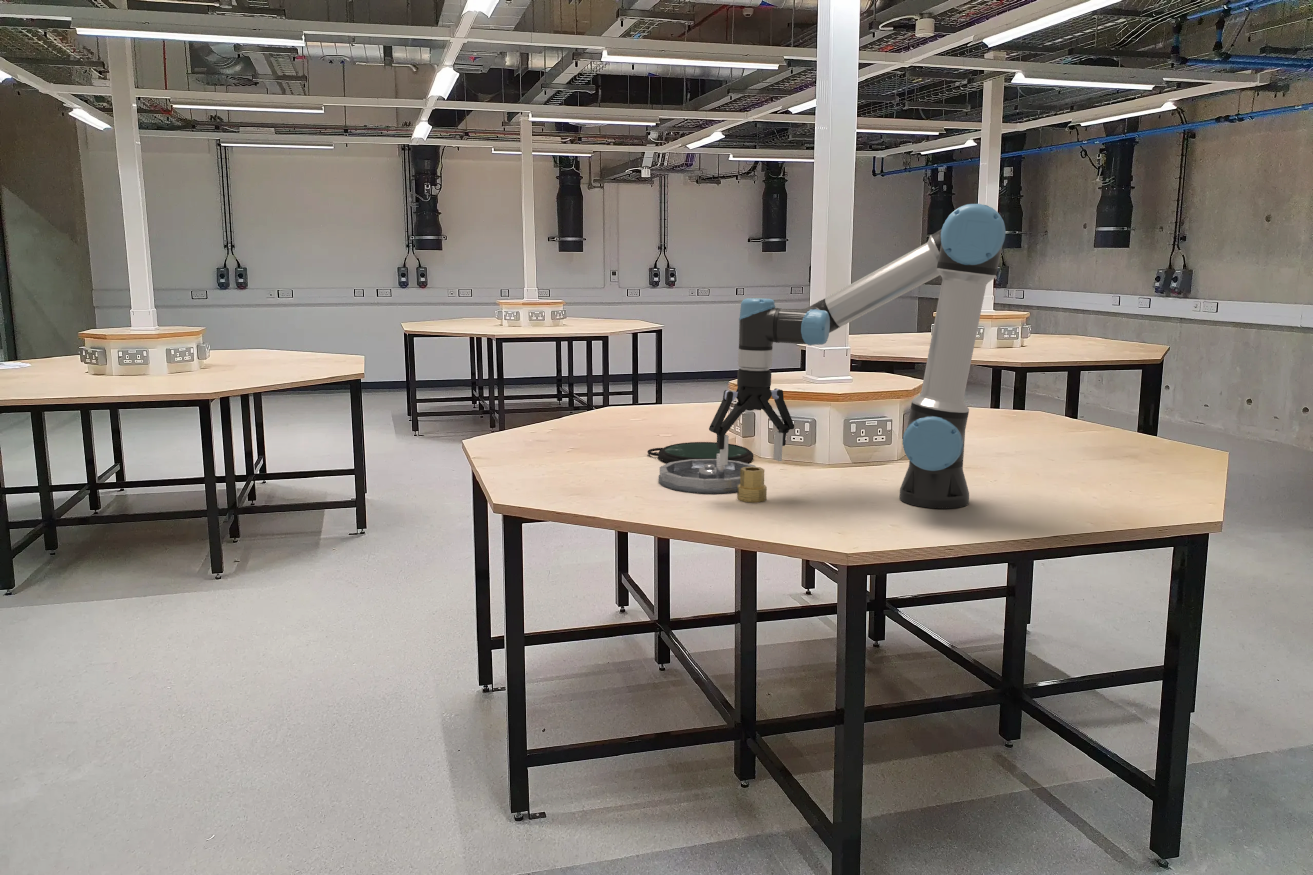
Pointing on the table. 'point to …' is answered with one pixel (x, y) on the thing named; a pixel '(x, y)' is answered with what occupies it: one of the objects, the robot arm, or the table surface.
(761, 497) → the brass hex pipe fitting
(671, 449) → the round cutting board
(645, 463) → the table surface
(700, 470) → the carrier
